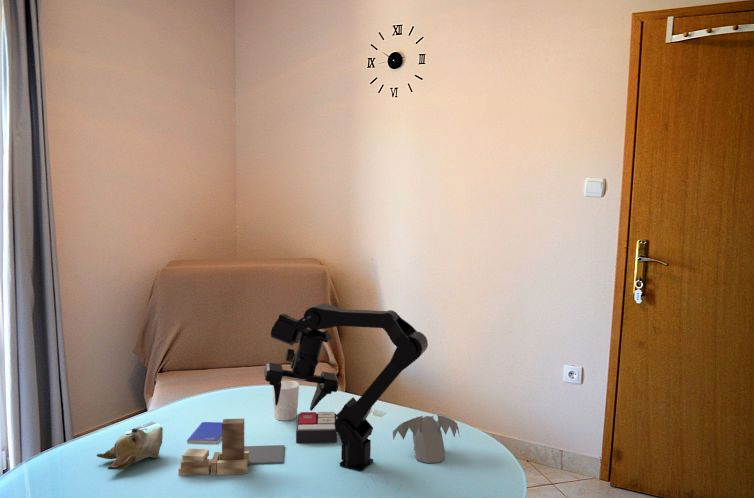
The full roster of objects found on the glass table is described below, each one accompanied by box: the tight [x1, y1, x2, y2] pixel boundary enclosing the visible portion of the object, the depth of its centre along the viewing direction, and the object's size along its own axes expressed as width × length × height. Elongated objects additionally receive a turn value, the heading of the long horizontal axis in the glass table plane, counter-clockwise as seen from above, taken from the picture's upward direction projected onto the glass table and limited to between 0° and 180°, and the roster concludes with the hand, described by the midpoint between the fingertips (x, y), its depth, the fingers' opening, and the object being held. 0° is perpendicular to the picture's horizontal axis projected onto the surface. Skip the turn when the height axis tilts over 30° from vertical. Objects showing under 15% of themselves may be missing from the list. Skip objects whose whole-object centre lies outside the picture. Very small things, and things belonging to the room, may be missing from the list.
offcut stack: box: [177, 448, 212, 476], centre depth 144 cm, size 7×6×4 cm
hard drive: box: [186, 421, 223, 445], centre depth 166 cm, size 2×8×12 cm
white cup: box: [272, 380, 300, 422], centre depth 179 cm, size 8×8×10 cm
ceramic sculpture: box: [96, 426, 164, 471], centre depth 148 cm, size 11×9×15 cm
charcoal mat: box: [244, 444, 285, 465], centre depth 153 cm, size 12×10×1 cm
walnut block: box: [221, 418, 245, 460], centre depth 145 cm, size 5×3×12 cm, turn 97°
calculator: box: [295, 411, 338, 444], centre depth 168 cm, size 11×4×15 cm
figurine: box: [392, 414, 461, 464], centre depth 156 cm, size 18×13×11 cm
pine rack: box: [210, 451, 250, 476], centre depth 145 cm, size 8×6×3 cm
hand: (293, 407), depth 153 cm, fingers open, 9 cm apart
